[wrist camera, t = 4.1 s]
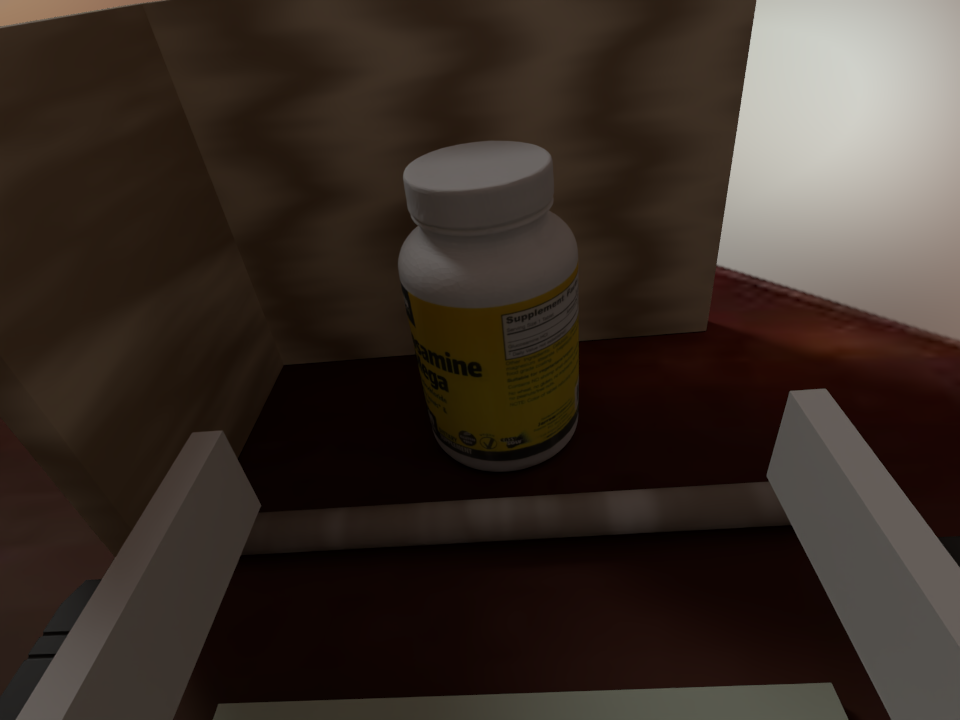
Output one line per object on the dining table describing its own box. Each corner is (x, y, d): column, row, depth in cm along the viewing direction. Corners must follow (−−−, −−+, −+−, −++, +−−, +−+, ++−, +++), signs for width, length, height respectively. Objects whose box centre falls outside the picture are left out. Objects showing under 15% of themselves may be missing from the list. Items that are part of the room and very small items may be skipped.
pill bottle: (408, 417, 25) (346, 166, 19) (521, 362, 27) (501, 122, 21) (484, 506, 21) (437, 218, 14) (611, 431, 23) (621, 155, 16)
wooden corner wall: (141, 589, 19) (-281, 73, 10) (268, 353, 30) (127, 5, 21) (831, 554, 18) (1113, -110, 8) (698, 317, 29) (754, -80, 19)
